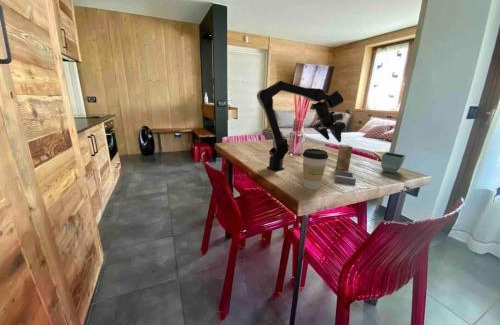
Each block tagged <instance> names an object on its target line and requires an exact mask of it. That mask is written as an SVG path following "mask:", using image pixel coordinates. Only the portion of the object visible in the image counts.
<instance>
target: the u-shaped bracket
mask: <svg viewBox="0 0 500 325" xmlns="http://www.w3.org/2000/svg"><path fill="white" fill-rule="evenodd" d="M334 182H336V183H341V184H342V183H343V184H348V185H349V184H350V185H356V182H357V176H356V172H353V171H348V172H347V171H340V170H336V169H335V176H334Z"/></svg>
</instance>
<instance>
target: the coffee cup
mask: <svg viewBox="0 0 500 325" xmlns="http://www.w3.org/2000/svg"><path fill="white" fill-rule="evenodd" d="M302 157H303V161H302V169H303V172H302V174H303V175H302V176H303V187H304V188H306V189H308V190H311V191H315V190H316V191H317V190H319V189H320V186H321V182H322V180H323V177H324V172H325V170H326V166H327V159H329V155H328V151H326V150H324V149H320V148H307V149H304V151H303V152H302Z"/></svg>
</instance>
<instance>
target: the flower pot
mask: <svg viewBox="0 0 500 325" xmlns="http://www.w3.org/2000/svg"><path fill="white" fill-rule="evenodd" d="M405 159H406V155H405V154H399V153H396V152H395V153H394V152H387V151H385V152H384V153H382V154H381V168H382V169H381V170H382V171H383V172H385V173H389V174H396V173H397V172H398V171H399V170H400V169H401V167H402V165H403V164H404V161H405Z"/></svg>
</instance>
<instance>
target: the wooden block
mask: <svg viewBox="0 0 500 325" xmlns="http://www.w3.org/2000/svg"><path fill="white" fill-rule="evenodd" d="M337 152H338V153H337V159H336V163H335V164H336V166H335V171H336V170H340V171H347V172H349V170H350V164H351V158H352V153H353V146H352V145H351V144H350V145H349V144H339V146H338V151H337Z"/></svg>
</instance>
